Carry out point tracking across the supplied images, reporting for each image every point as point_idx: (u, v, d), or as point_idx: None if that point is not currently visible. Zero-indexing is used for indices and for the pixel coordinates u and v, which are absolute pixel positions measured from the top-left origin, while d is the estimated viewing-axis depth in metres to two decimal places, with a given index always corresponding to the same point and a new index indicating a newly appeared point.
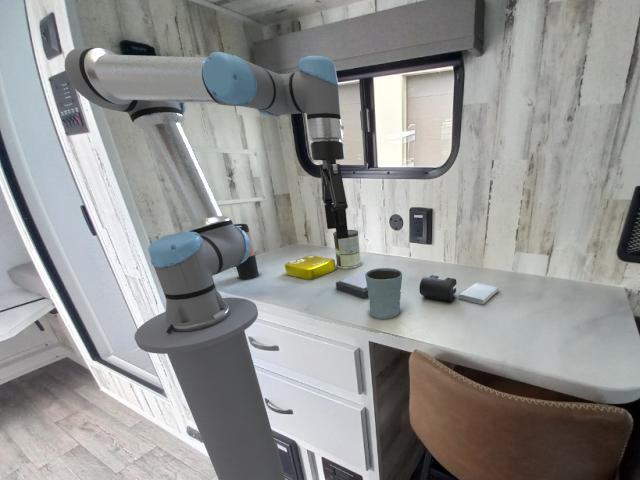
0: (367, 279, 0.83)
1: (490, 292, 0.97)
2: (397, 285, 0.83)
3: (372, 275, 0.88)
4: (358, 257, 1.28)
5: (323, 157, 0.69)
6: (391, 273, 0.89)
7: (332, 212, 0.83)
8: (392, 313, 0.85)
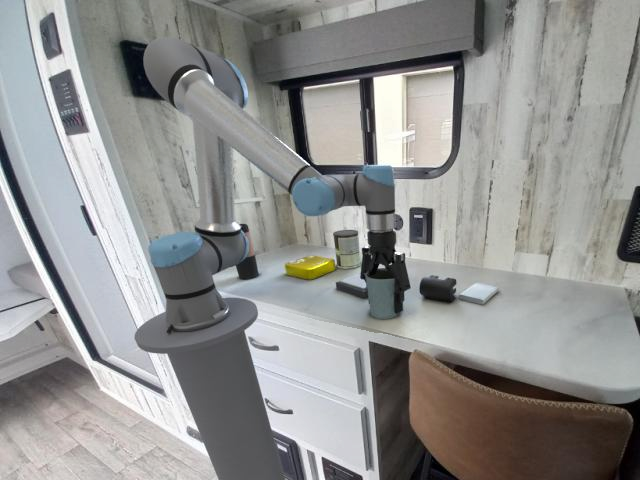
0: (367, 279, 0.83)
1: (490, 292, 0.97)
2: None
3: (372, 275, 0.88)
4: (358, 257, 1.28)
5: (387, 245, 0.78)
6: None
7: None
8: (392, 313, 0.85)
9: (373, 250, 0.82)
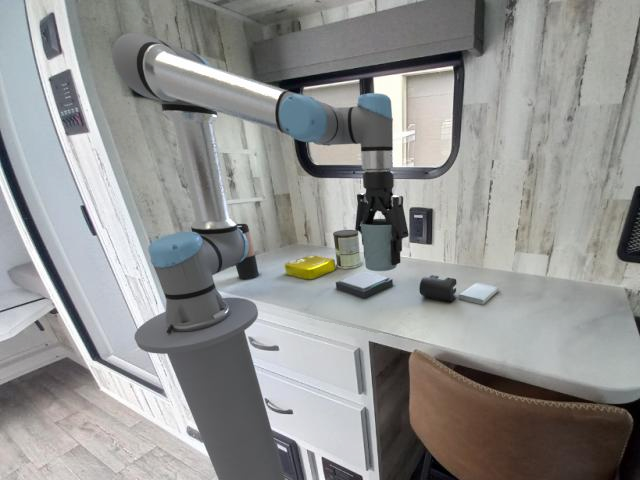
0: (362, 226, 0.77)
1: (490, 292, 0.97)
2: None
3: None
4: (358, 257, 1.28)
5: (383, 187, 0.72)
6: None
7: None
8: (389, 265, 0.80)
9: (369, 195, 0.77)
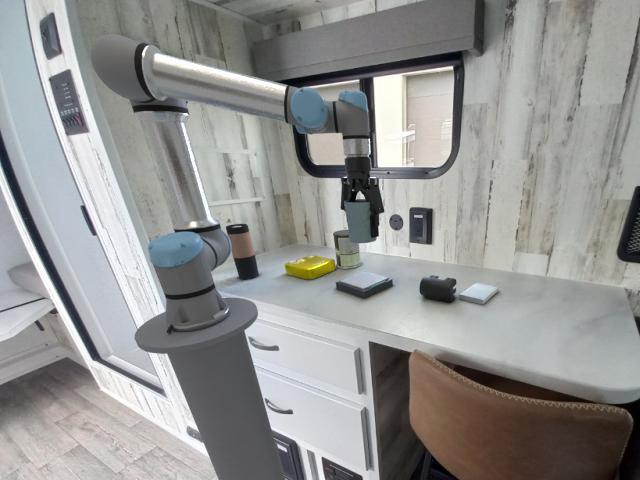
0: (345, 204, 0.90)
1: (490, 292, 0.97)
2: None
3: None
4: (358, 257, 1.28)
5: (362, 169, 0.86)
6: None
7: None
8: (369, 238, 0.93)
9: (351, 178, 0.90)
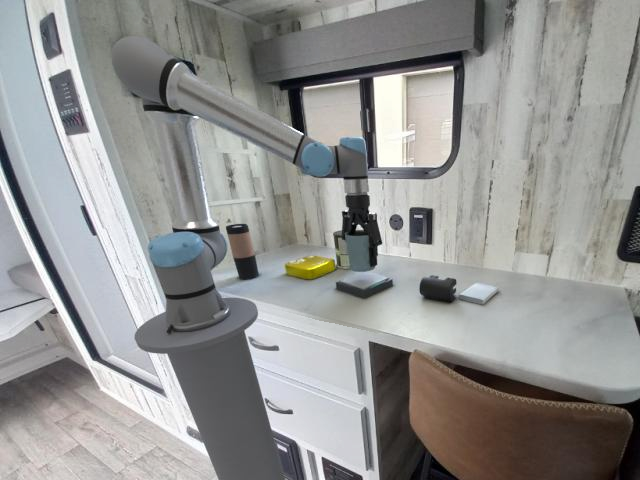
0: (346, 237, 0.98)
1: (490, 292, 0.97)
2: None
3: None
4: None
5: (361, 206, 0.93)
6: None
7: None
8: (368, 267, 1.01)
9: (351, 212, 0.98)
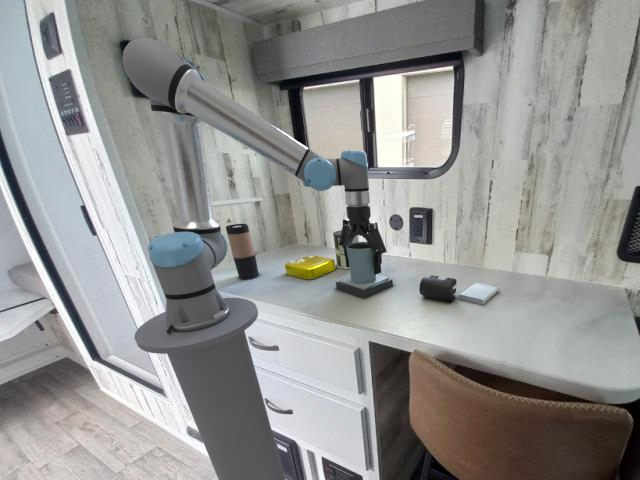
0: (347, 249, 0.99)
1: (490, 292, 0.97)
2: (372, 254, 1.00)
3: (352, 247, 1.04)
4: None
5: (362, 218, 0.94)
6: (368, 246, 1.06)
7: None
8: (369, 279, 1.02)
9: (352, 223, 0.99)
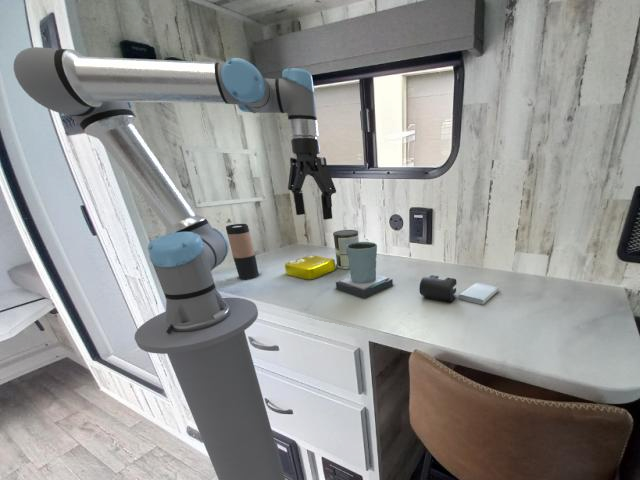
0: (347, 249, 0.99)
1: (490, 292, 0.97)
2: (372, 254, 1.00)
3: (352, 247, 1.04)
4: None
5: (308, 151, 0.83)
6: (368, 246, 1.06)
7: (301, 200, 0.96)
8: (369, 279, 1.02)
9: None
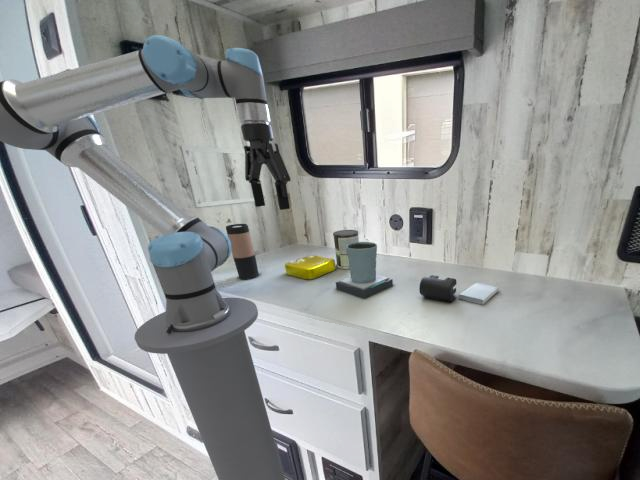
0: (347, 249, 0.99)
1: (490, 292, 0.97)
2: (372, 254, 1.00)
3: (352, 247, 1.04)
4: None
5: (258, 137, 0.79)
6: (368, 246, 1.06)
7: (259, 190, 0.92)
8: (369, 279, 1.02)
9: None
